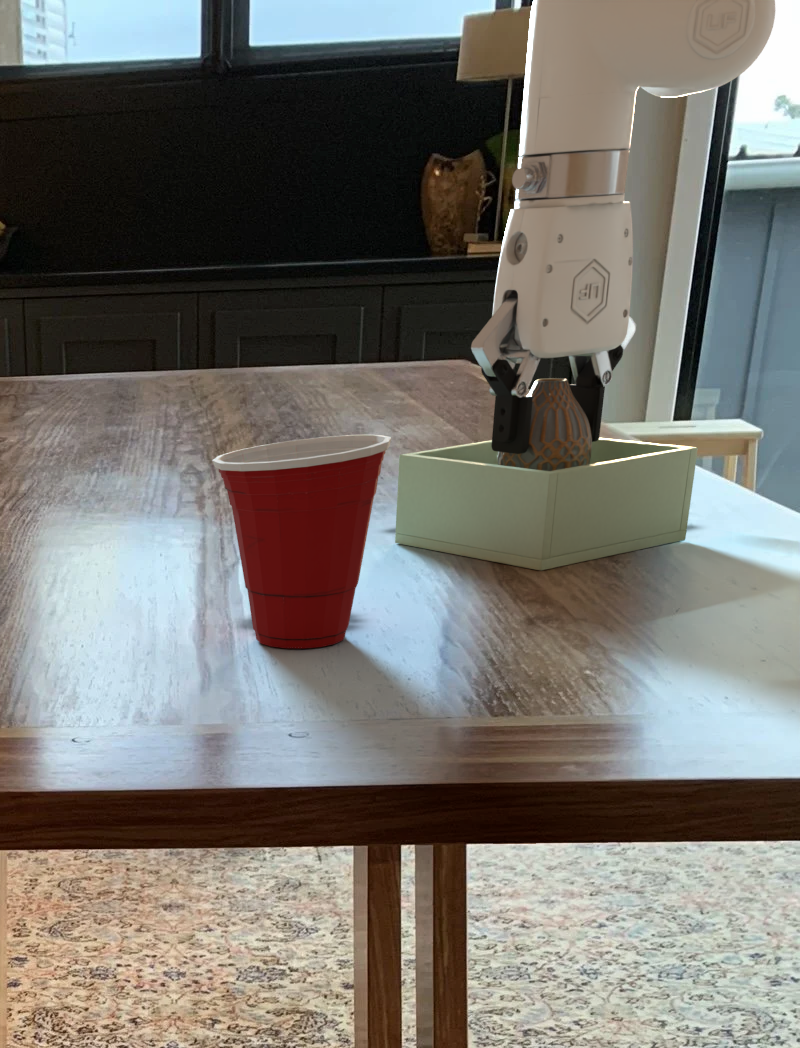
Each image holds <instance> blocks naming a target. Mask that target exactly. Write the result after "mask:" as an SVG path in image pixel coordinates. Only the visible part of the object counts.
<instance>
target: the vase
mask: <svg viewBox="0 0 800 1048" xmlns="http://www.w3.org/2000/svg"><path fill="white" fill-rule="evenodd" d="M569 385H570V383H569V380H568V379H567V378H563V377H562V378H561V377H560V378H559V377H558V378H557V377H555V378H554V377H552V378H551V377H549V378H538V379H536V380H535V381H534V382H533V384H532V386H531V388H530V390H529V392H527V394H526V396H530V397H532V413H531V424H530V435H529V445H528V450H527V451H526V452H525V453H522V454H514V453H506V452H498V465H502V466H510V467H519V468H527V469H535V470H543V471H554V470H560V469H566V468H572V467H577V466H583V465H589V463H590V458H591V452H592V436H591V429H590V425H589V422H588V419H587V417H586V415H585V413H584V411H583V410H582V408H581V406H580V405H579V403H578V402H577V400H576V399H575V397H574V396H573V394H572V391H571V389H570V386H569Z"/></svg>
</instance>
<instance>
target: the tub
mask: <svg viewBox="0 0 800 1048" xmlns="http://www.w3.org/2000/svg"><path fill="white" fill-rule="evenodd" d="M698 451H699V448H698V447H697V446H688V445H679V444H678V445H676V444H669V443H668V444H667V443H656V442H646V441H636V440H627V439H616V438H605V437H599V439H598V440H597V441H595V442H592V452H591V458H590V463H589V465H583V466H577V467H572V468H566V469H560V470H554V471H543V470H535V469H527V468H519V467H510V466H502V465H498V452H497V451H493V450H492V439H490V440H482V441H478V442H471V443H470V442H469V443H465V444H458V445H452V446H447V447H440V448H433V449H427V450H420V451H414V452H410V453H409V452H408V453H403V454H399V456H398V475H397V491H396V492H397V496H396V514H395V531H394V532H395V535H394V543H395V544H399V545H404V546H409V547H415V548H419V549H424V550H425V549H426V550H430V551H435V552H441V553H446V554H452V555H456V556H462V557H466V558H467V557H468V558H472V559H476V560H482V561H488V562H493V563H499V564H504V565H508V566H513V567H519V568H525V569H530V570H535V571H538V572H539V571H546V570H550V569H555V568H559V567H565V566H568V565H574V564H577V563H578V564H579V563H584V562H587V561H592V560H597V559H602V558H606V557H610V556H611V557H612V556H615V555H616V556H617V555H620V554H625V553H630V552H635V551H639V550H644V549H649V548H653V547H658V546H662V545H663V546H664V545H667V544H672V543H677V542H682V541H685V540H686V538H687V529H688V522H689V516H690V508H691V501H692V493H693V487H694V479H695V473H696V472H695V471H696V466H697V465H696V464H697V459H698V458H697V457H698Z"/></svg>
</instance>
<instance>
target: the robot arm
mask: <svg viewBox="0 0 800 1048" xmlns="http://www.w3.org/2000/svg"><path fill="white" fill-rule="evenodd" d="M529 17H530V18H529V26H528V27H529V28H528V36H527V37H528V38H527V39H528V40H527V49H526V50H527V52H526V63H525V75H524V85H523V86H524V88H523V100H522V111H521V122H520V123H521V124H520V135H519V147H518V148H519V150H518V156H519V157H518V158H517V159H518V160H517V168H516V169H515V170H514V172H513V174H512V177H511V183H512V186H513V188H514V189H515V196H514V199H515V200H514V206H513V208H511V209H510V211H509V215H508V218H507V223H506V225H505V226H506V227H505V231H504V236H503V239H502V244H501V248H500V249H501V250H500V256H499V260H498V267H497V271H496V272H497V273H496V279H495V287H494V294H493V303H492V312H491V313H492V314H491V318H489V320H488V321H487V323H486V324H485V325H484V326H483V327H482V329H481V330H480V331H479V332H478V334H476V336H475V338H474V339H473V340H472V342H471V345H470V350H471V352H472V354H473V356H474V358H475V361H477V364H478V365H479V367H481V371H480V372H481V374H482V376H483V377H484V379H485V380H486V382H487V383H488V385H489V386H488V393H489V394H490V395H491V396H492V397H493V396H494V397H495V399H494V410H493V420H492V421H493V423H492V435H491V440H492V450H493V451H497V452H506V453H514V454H522V453H525V452H526V451H527V450H528V445H529V435H530V424H531V413H532V397H530V396H527V394H528V390H529V388H530V386H531V383H532V381H533V378H534V375H535V373H536V371H537V369H538V366H539V363H540V361H541V359H554V358H563V357H568V360H569V364H570V368H571V372H572V376H573V380H574V384H573V383H571V384H570V383H569V386H570V389H571V391H572V394H573V396H574V397H575V399H576V400H577V402H578V403H579V405H580V406H581V408H582V410H583V411H584V413H585V415H586V417H587V419H588V422H589V425H590V429H591V436H592V442H595V441H597V440H598V439H599V438H600V435H601V426H602V417H603V407H604V399H605V391H606V387H607V386H609V385H610V384H611V382H612V380H613V376H614V375H613V371H614V370H615V368H616V367H617V365H618V364H619V363H620V361H621V360H622V357H623V355H624V351H625V350H626V348H627V346H628V345H629V343H630V342H631V340H632V338H633V337H634V335H635V333H636V331H637V323H636V322H635V320H634V319H633V317H632V316H631V315H630V314H631V312H630V311H631V299H632V286H633V267H634V266H633V265H634V264H633V263H634V233H633V231H634V230H633V216H632V215H633V214H632V207H631V201H625V193H626V183H627V175H628V167H629V158H630V157H629V156H630V150H629V149H631V142H632V133H633V124H634V116H635V115H634V114H635V105H636V97H637V92H638V90H639V88H641V89H642V90H644V91H645V92H647V93H648V94H651V95H653V96H655V97H660V98H668V99H669V98H678V97H685V96H688V95H689V96H690V95H692V94H693V95H694V94H699V93H703V92H706V91H711V90H714V89H717V88H719V87H722V86H724V85H727V84H728V83H730V82H732V81H733V80H735V79H736V78H738V77H740V75H742V74H743V73H744V72H746V71H747V70H748V69H749V68H750V67H751V66H752V65H753V63H755V61H757V59H758V58H759V57H760V55H761V54H762V52H763V50H764V49H765V47H766V45H767V43H768V41H769V39H770V37H771V35H772V31H773V28H774V24H775V18H776V0H533V1H532V5H531V10H530V16H529ZM588 357H589V359H588ZM516 364H519V366H518V370H517V372H515V367H516Z"/></svg>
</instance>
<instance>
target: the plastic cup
mask: <svg viewBox="0 0 800 1048" xmlns="http://www.w3.org/2000/svg"><path fill="white" fill-rule="evenodd" d="M391 442H392V437H391V436H387V435H383V434H347V435H331V436H320V437H312V438H304V439H303V438H302V439H293V440H287V441H281V442H273V443H268V444H267V443H266V444H261V445H256V446H251V447H247V448H242V449H237V450H233V451H230V452H226V453H223V454H220V455H217V456H215V458H213V459H212V460H211V462H212V464H213V467H214V468H216V469H218V473H220V477H221V479H222V480H223V485H224V489H225V490H226V491H227V496H228V497H227V498H228V501H229V505H230V506H231V508H232V509H231V511H232V515H233V521H234V522H233V523H234V528H235V534H236V540H237V546H238V551H239V557H240V564H241V568H242V569H241V570H242V575H243V581H244V587H245V589H246V590H247V595H248V605H249V609H250V610H249V611H250V616H251V617H250V618H251V623H252V630H254V633H255V639H256V641H258V643H259V644H261V645H265V646H268V647H272V648H273V647H274V648H281V649H301V650H302V649H315V648H322V647H327V646H332V645H336V644H338V643H340V642H342V641H344V639H345V636H346V633H347V630H348V628H349V626H350V619H351V615H352V609H353V604H354V598H355V593H356V588H357V586H358V584H359V579H360V574H361V570H362V563H363V559H364V554H365V549H366V542H367V536H368V531H369V527H370V526H369V525H370V520H371V515H372V510H373V505H374V504H373V503H374V498H375V495H376V494H377V488H378V484H379V483H378V482H379V476H380V475H381V470H382V464H383V461H384V458H385V456H384V455H385V454H386V451H388V449H389V448H390V446H391Z"/></svg>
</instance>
